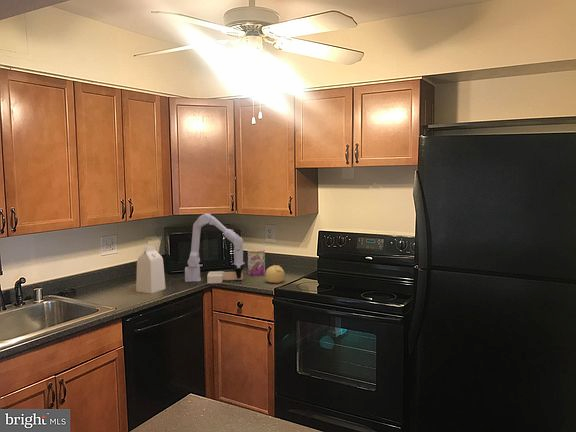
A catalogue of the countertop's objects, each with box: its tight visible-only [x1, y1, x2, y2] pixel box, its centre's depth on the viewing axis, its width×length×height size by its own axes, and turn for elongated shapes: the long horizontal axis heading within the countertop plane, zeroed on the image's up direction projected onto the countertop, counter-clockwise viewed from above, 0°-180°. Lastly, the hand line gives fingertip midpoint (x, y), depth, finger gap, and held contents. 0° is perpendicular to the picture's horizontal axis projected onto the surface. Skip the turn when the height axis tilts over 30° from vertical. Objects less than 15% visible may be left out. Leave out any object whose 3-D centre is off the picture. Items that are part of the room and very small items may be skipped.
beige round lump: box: [264, 264, 285, 284], centre depth 291 cm, size 11×12×11 cm
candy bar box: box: [247, 249, 266, 276], centre depth 314 cm, size 11×5×16 cm, turn 84°
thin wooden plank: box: [221, 271, 244, 281], centre depth 298 cm, size 14×1×5 cm, turn 95°
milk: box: [135, 245, 166, 294], centre depth 274 cm, size 12×12×26 cm
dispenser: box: [206, 270, 225, 284], centre depth 297 cm, size 10×14×4 cm
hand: (239, 277), depth 298 cm, fingers open, 7 cm apart
